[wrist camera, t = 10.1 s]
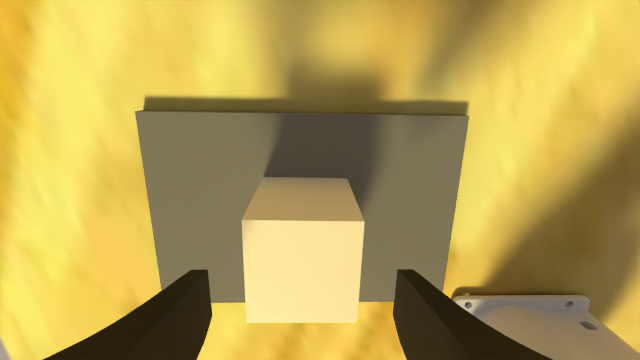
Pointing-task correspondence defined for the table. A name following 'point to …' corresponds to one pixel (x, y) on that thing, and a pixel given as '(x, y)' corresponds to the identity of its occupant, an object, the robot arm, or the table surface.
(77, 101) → the table surface
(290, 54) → the table surface
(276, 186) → the cream block
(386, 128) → the desk pad
